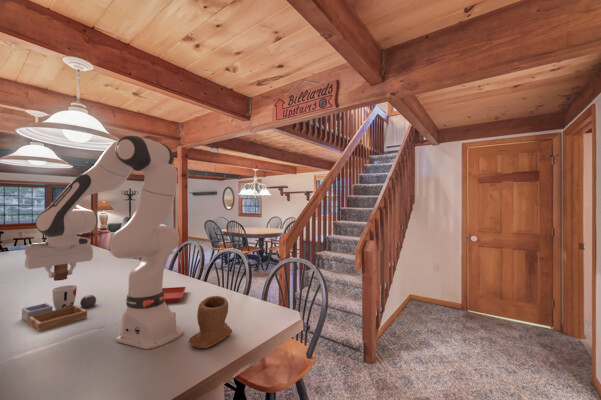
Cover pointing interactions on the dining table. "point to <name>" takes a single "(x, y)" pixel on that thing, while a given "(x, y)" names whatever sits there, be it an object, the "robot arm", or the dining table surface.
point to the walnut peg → (60, 272)
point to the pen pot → (35, 310)
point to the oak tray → (57, 317)
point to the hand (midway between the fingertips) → (60, 276)
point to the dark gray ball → (88, 301)
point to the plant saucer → (173, 294)
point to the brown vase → (211, 322)
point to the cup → (64, 296)
